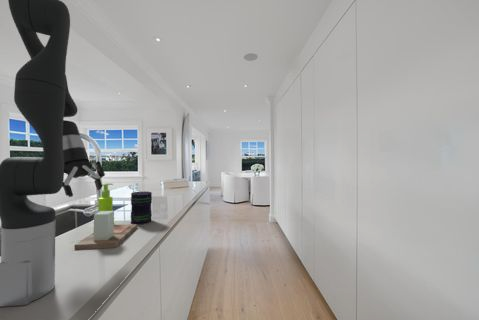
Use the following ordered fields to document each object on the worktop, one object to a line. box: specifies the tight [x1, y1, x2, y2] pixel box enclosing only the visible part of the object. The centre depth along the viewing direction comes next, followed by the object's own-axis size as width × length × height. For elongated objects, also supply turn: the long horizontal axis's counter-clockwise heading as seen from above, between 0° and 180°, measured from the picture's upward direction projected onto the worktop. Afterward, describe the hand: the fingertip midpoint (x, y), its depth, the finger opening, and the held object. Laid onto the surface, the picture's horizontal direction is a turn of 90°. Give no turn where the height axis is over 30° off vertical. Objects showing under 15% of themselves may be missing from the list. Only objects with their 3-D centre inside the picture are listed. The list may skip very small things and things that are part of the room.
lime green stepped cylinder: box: [97, 182, 114, 213], centre depth 102 cm, size 6×7×20 cm
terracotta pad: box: [114, 226, 129, 233], centre depth 90 cm, size 9×9×1 cm
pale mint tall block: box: [93, 210, 115, 241], centre depth 81 cm, size 5×5×10 cm
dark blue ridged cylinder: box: [130, 191, 153, 226], centre depth 107 cm, size 10×10×15 cm
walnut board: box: [73, 223, 138, 250], centre depth 86 cm, size 22×14×2 cm, turn 8°
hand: (86, 192), depth 73 cm, fingers open, 8 cm apart
